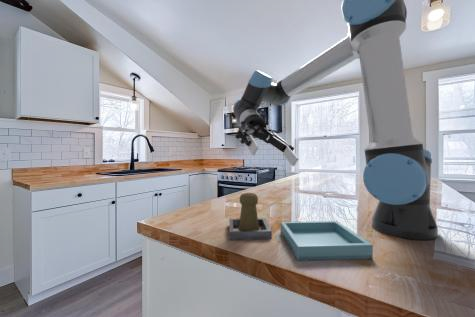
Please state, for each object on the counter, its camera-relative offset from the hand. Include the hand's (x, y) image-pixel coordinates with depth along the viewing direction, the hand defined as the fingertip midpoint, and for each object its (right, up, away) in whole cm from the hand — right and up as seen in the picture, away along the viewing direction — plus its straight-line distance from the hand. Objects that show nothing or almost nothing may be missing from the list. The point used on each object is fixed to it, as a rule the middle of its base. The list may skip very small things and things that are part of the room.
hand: (276, 156), depth 62 cm
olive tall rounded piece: (-7, -21, +3) cm, 23 cm away
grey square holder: (-7, -21, +3) cm, 23 cm away
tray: (+10, -21, -6) cm, 24 cm away
